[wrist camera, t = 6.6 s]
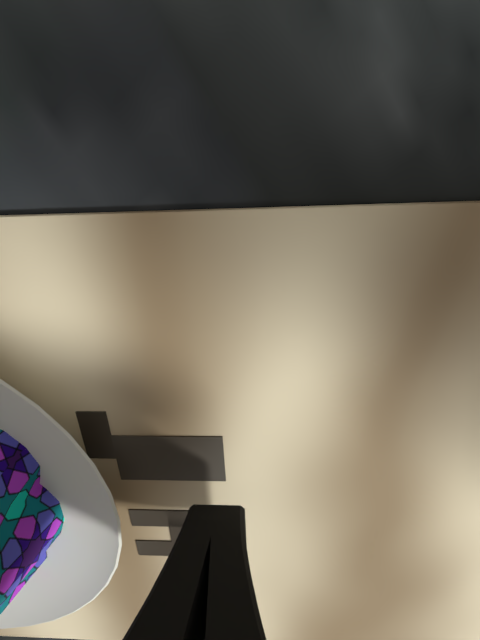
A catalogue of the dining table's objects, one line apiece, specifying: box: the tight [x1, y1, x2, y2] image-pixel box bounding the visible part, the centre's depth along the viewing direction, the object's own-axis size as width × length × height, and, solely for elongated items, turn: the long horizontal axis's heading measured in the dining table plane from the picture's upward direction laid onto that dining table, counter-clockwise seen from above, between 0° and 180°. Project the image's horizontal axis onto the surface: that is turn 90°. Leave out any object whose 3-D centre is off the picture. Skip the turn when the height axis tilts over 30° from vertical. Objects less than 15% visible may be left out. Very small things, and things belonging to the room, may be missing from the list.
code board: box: [0, 201, 480, 640], centre depth 11 cm, size 28×16×1 cm, turn 92°
